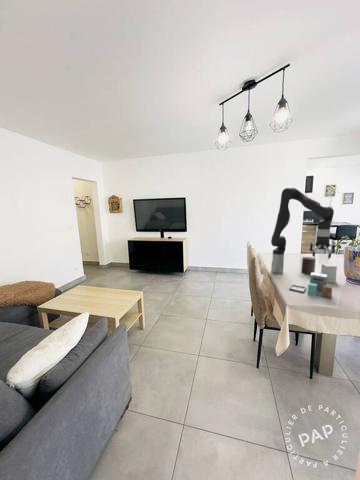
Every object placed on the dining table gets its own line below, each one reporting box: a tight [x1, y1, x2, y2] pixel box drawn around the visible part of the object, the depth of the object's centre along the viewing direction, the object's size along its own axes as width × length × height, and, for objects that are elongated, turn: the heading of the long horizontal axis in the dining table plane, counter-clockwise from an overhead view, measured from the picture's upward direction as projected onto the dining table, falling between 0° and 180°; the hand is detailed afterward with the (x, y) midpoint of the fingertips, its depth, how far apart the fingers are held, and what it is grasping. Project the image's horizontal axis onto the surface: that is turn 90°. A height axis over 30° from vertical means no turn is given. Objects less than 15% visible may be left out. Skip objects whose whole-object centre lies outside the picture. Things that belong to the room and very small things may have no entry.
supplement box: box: [320, 263, 338, 283], centre depth 152 cm, size 7×7×13 cm
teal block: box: [307, 282, 318, 297], centre depth 130 cm, size 4×4×7 cm
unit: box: [309, 272, 328, 293], centre depth 136 cm, size 9×8×11 cm
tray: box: [288, 284, 307, 294], centre depth 138 cm, size 9×9×1 cm
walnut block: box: [322, 284, 333, 300], centre depth 125 cm, size 4×4×7 cm
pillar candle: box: [301, 256, 316, 275], centre depth 170 cm, size 10×10×15 cm
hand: (321, 257), depth 138 cm, fingers open, 8 cm apart
